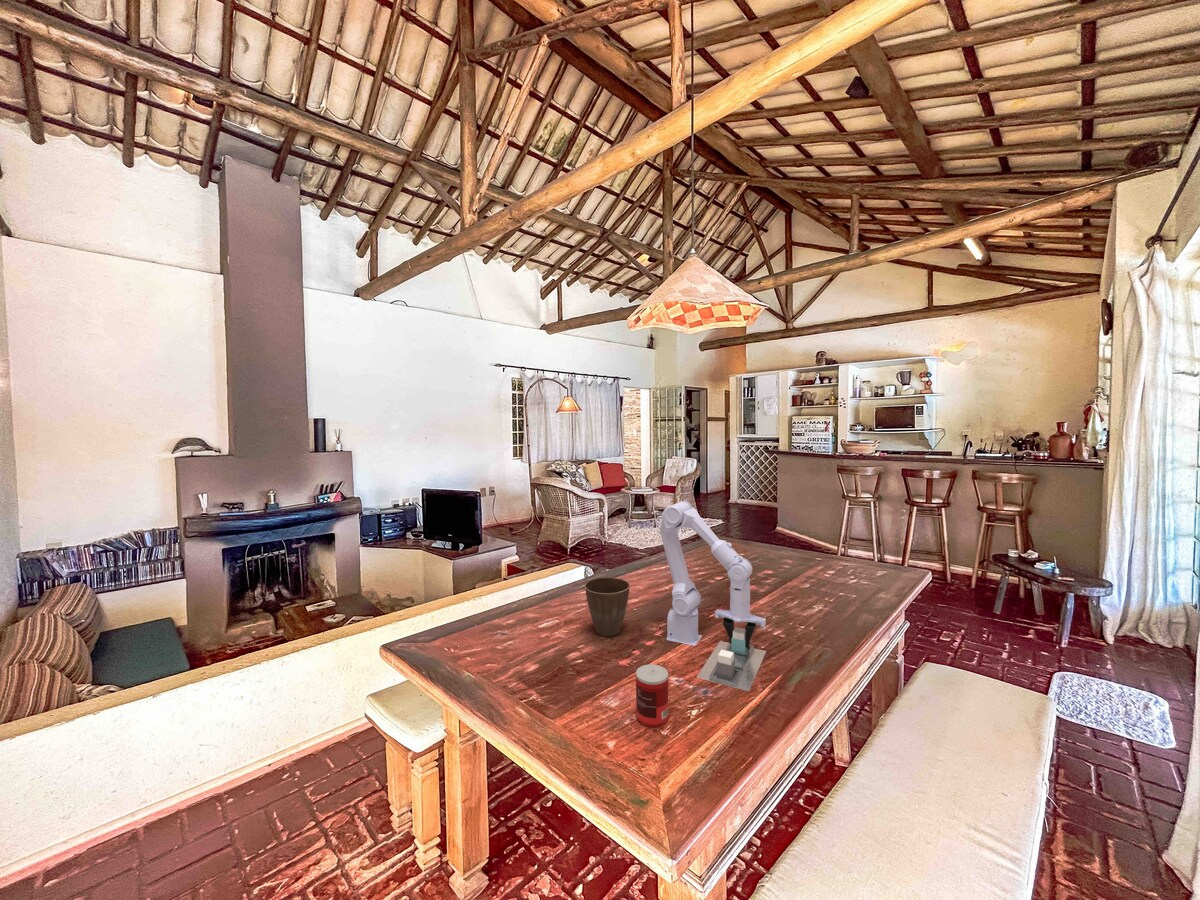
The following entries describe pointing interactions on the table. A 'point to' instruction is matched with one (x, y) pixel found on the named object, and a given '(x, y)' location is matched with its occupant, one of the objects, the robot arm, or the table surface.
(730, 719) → the table surface
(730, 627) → the robot arm
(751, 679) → the panel
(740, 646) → the plug
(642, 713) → the canned food
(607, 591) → the plant pot
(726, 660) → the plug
